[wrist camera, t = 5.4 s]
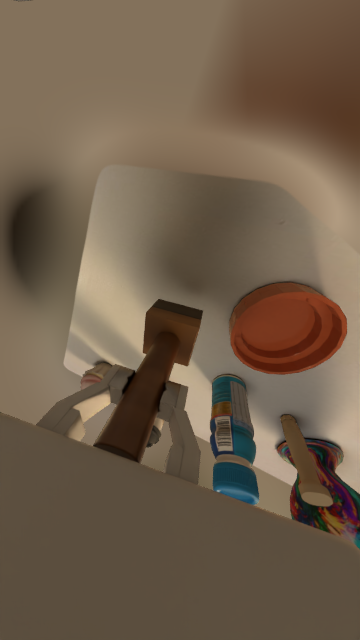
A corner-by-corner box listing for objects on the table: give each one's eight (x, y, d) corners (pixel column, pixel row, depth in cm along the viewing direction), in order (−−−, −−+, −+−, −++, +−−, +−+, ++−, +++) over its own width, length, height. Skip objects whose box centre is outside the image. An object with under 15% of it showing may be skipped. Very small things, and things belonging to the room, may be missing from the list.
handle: (295, 409, 40) (331, 494, 27) (299, 424, 42) (333, 508, 29) (274, 410, 41) (299, 490, 29) (279, 424, 44) (303, 503, 31)
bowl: (248, 271, 26) (254, 280, 22) (350, 294, 24) (378, 308, 20) (219, 344, 34) (219, 360, 30) (293, 364, 33) (304, 384, 29)
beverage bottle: (250, 378, 37) (276, 500, 21) (239, 398, 42) (254, 512, 25) (215, 369, 38) (213, 479, 22) (208, 390, 43) (202, 494, 26)
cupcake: (96, 353, 45) (68, 381, 37) (124, 368, 46) (103, 399, 37) (91, 370, 50) (66, 399, 42) (117, 383, 51) (97, 414, 42)
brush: (158, 298, 17) (55, 412, 6) (203, 310, 16) (175, 455, 6) (154, 334, 19) (76, 459, 9) (192, 345, 19) (159, 490, 8)
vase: (263, 440, 49) (310, 662, 24) (331, 431, 41) (518, 764, 15) (289, 467, 54) (352, 676, 29) (356, 464, 45) (529, 760, 20)
